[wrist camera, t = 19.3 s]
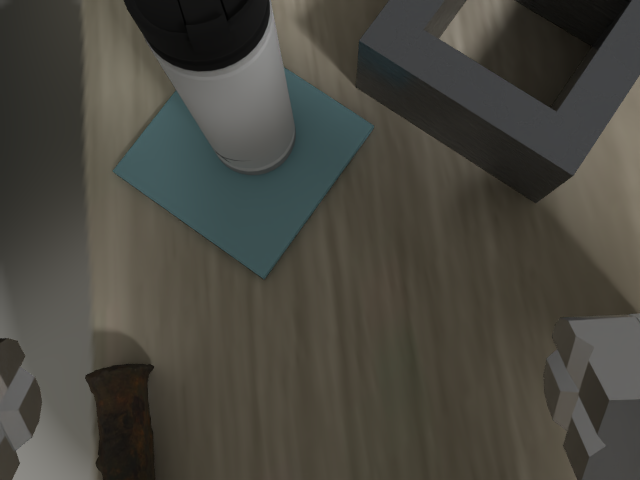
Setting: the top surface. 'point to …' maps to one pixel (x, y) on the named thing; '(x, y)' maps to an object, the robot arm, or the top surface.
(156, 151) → the rubber mat
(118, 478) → the hand tool
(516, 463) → the top surface
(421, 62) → the square collar
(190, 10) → the travel mug
